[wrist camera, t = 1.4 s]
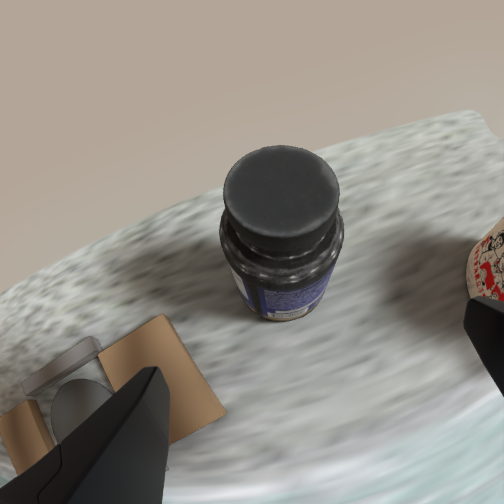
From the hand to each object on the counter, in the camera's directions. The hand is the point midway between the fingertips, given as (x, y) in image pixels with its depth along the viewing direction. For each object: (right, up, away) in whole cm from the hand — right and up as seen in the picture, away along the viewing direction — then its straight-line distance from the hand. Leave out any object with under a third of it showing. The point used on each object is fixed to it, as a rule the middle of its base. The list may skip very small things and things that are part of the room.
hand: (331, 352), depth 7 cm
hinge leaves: (-15, -11, +10) cm, 21 cm away
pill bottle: (0, 0, +15) cm, 15 cm away
